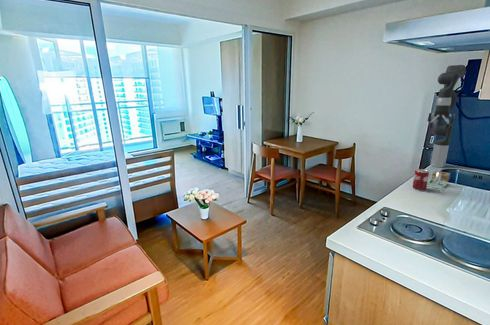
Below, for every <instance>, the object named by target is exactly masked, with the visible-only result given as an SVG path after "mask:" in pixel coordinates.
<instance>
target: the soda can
mask: <svg viewBox="0 0 490 325" xmlns="http://www.w3.org/2000/svg"><path fill="white" fill-rule="evenodd" d="M429 175H430V172H429V171H428V170H427V169H425V168H423V169H422V168H416V169H415V170H414V176H413V179H412V180H413V181H412V186H411V187H412V189H413V190H415V191H421V192H423V191H426V190H427V188H428V185H427V182H428V181H429Z"/></svg>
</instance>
